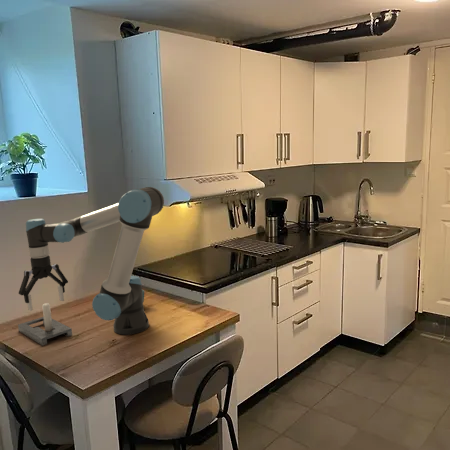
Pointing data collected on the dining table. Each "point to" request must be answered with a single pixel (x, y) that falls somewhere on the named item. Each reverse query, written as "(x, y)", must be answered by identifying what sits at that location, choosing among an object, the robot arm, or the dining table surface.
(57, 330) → the keyhole plate
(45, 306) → the peg
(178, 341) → the dining table surface
